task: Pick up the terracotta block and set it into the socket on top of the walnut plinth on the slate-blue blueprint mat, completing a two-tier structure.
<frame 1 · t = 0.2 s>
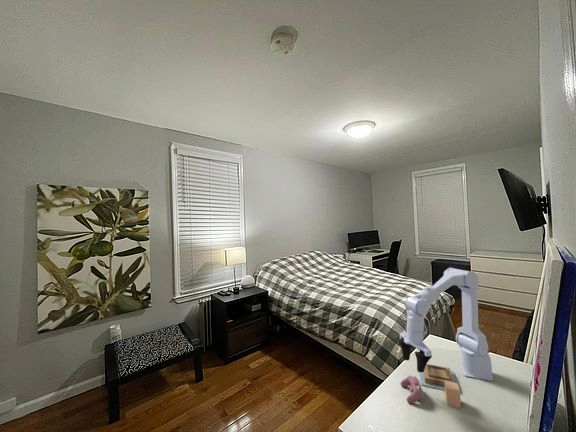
hand: (413, 365, 90), 10 cm above the table, tool pointing down, fingers open, 7 cm apart
blueprint mat: (437, 378, 97), on the table
terracotta block: (452, 402, 84), on the table
video game controller: (412, 395, 89), on the table
walnut plinth: (437, 374, 97), on the blueprint mat
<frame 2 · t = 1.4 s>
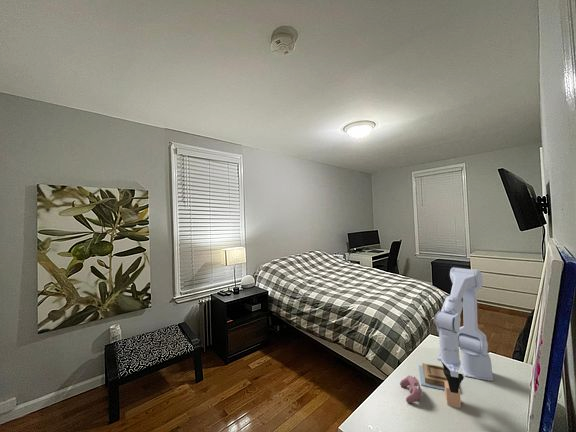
hand: (451, 384, 85), 6 cm above the table, tool pointing down, fingers open, 7 cm apart
nothing on the table moved.
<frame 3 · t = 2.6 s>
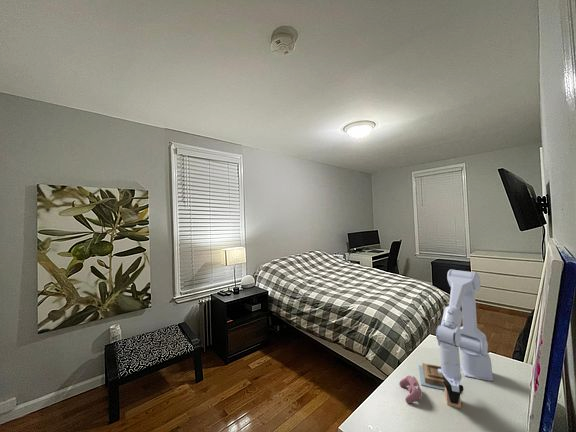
hand: (452, 398, 85), 1 cm above the table, tool pointing down, fingers closed on terracotta block, 4 cm apart
terracotta block: (452, 402, 84), on the table, touching gripper
everything else where it was.
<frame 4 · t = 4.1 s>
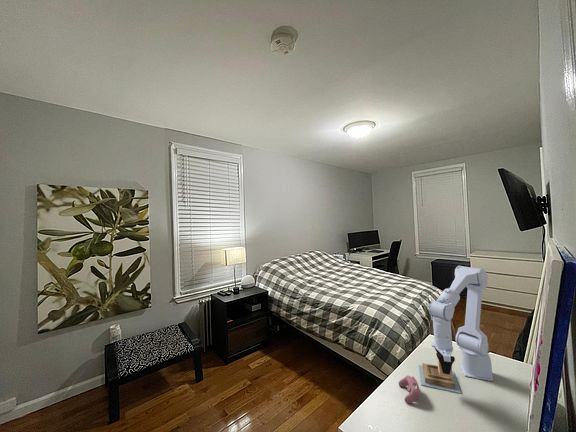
hand: (445, 369, 90), 8 cm above the table, tool pointing down, fingers closed on terracotta block, 4 cm apart
terracotta block: (445, 373, 90), point 7 cm above the table, touching gripper
everything else where it was.
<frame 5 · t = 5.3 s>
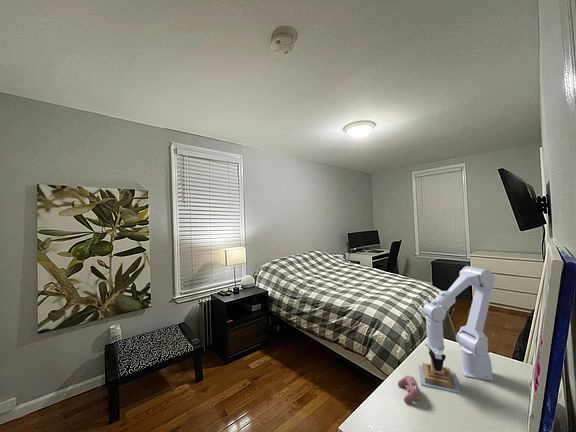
hand: (437, 366, 97), 5 cm above the table, tool pointing down, fingers closed on terracotta block, 4 cm apart
terracotta block: (437, 370, 97), point 3 cm above the table, touching gripper
when the fingers open (5 cm above the table, at t = 6.0 s): terracotta block stays where it is, resting on walnut plinth.
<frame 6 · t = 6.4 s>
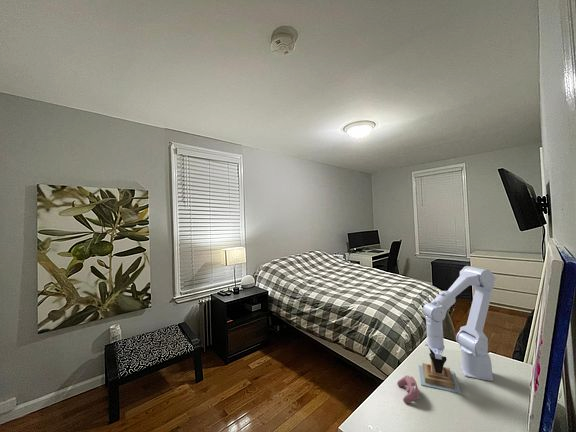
hand: (437, 366, 97), 5 cm above the table, tool pointing down, fingers open, 7 cm apart
terracotta block: (437, 372, 97), point 2 cm above the table, touching walnut plinth
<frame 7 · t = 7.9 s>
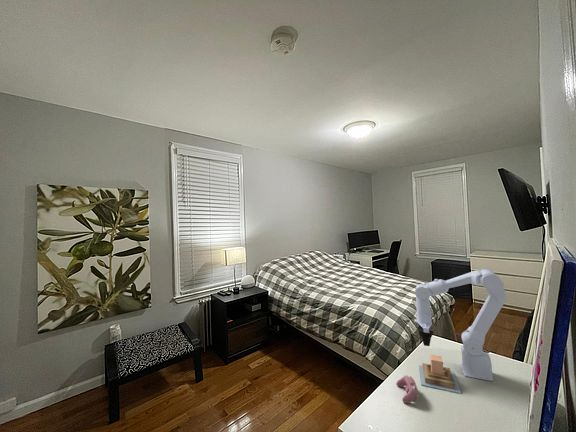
hand: (425, 341, 108), 9 cm above the table, tool pointing down, fingers open, 7 cm apart
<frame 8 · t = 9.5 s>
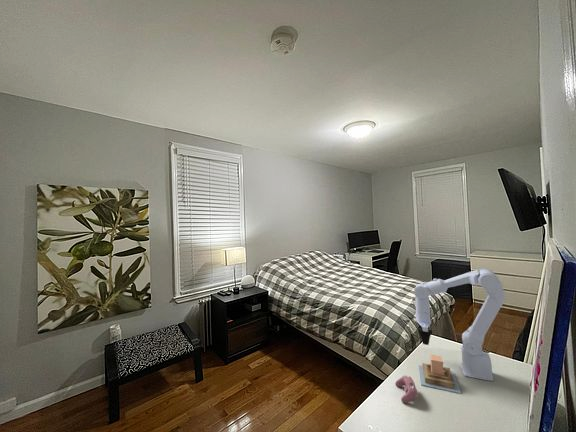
hand: (424, 340, 109), 9 cm above the table, tool pointing down, fingers open, 7 cm apart
at the end: terracotta block 0.1 cm off-centre on the walnut plinth, point 2.4 cm above the walnut plinth's base; terracotta block tilted 0°; the gripper is holding nothing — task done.
